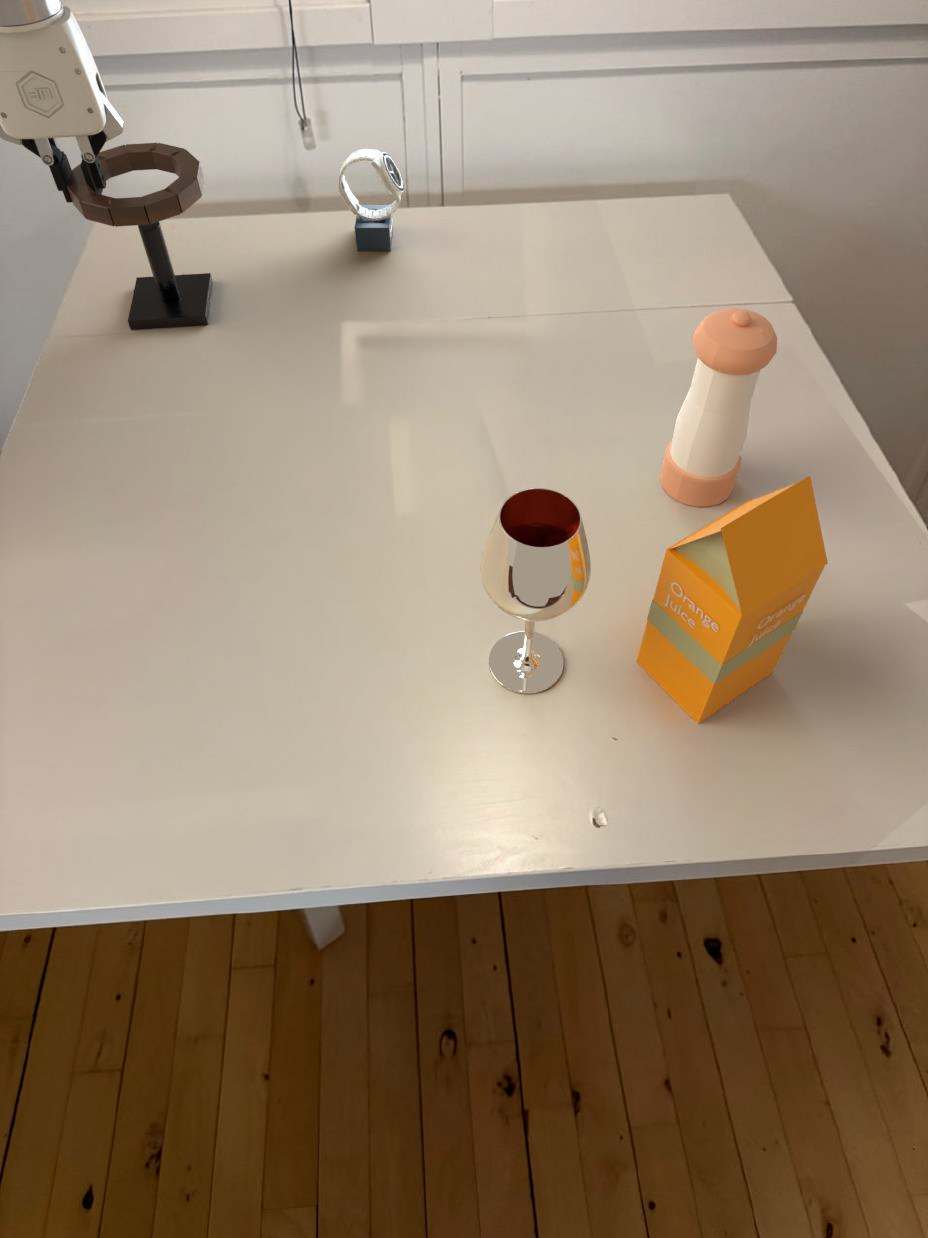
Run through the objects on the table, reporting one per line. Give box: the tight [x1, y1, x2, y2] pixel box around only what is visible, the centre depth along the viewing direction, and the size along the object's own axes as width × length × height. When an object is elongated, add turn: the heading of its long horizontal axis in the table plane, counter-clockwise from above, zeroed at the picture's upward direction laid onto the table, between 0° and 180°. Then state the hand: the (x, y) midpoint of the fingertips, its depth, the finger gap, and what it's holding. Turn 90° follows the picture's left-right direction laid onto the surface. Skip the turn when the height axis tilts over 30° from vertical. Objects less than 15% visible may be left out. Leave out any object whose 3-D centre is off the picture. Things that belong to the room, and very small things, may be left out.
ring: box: [67, 142, 205, 228], centre depth 96 cm, size 14×14×2 cm
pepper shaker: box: [659, 307, 778, 508], centre depth 82 cm, size 7×7×19 cm
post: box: [127, 221, 213, 331], centre depth 104 cm, size 9×9×10 cm
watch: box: [338, 148, 405, 252], centre depth 113 cm, size 6×8×11 cm
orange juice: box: [636, 475, 829, 724], centre depth 68 cm, size 8×9×20 cm
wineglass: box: [479, 487, 592, 695], centre depth 70 cm, size 8×8×18 cm
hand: (85, 193), depth 97 cm, fingers closed on ring, 2 cm apart
